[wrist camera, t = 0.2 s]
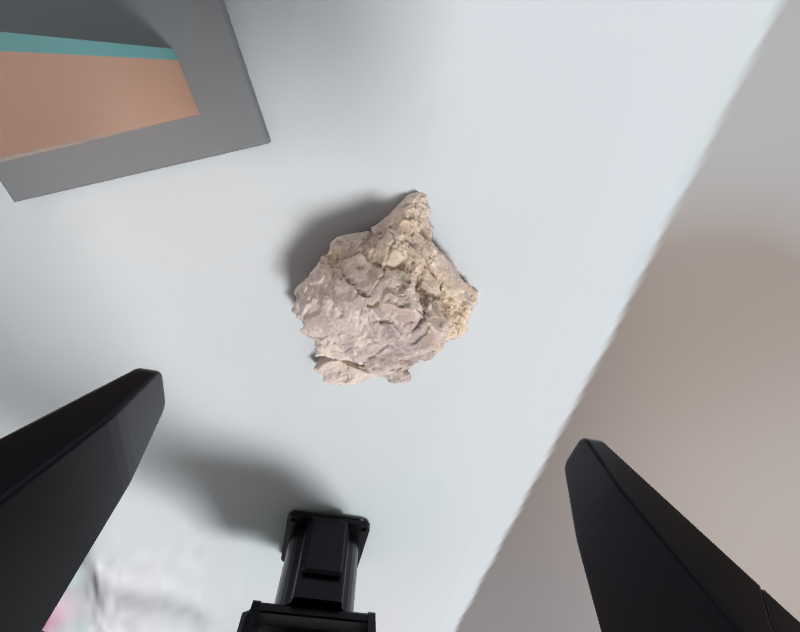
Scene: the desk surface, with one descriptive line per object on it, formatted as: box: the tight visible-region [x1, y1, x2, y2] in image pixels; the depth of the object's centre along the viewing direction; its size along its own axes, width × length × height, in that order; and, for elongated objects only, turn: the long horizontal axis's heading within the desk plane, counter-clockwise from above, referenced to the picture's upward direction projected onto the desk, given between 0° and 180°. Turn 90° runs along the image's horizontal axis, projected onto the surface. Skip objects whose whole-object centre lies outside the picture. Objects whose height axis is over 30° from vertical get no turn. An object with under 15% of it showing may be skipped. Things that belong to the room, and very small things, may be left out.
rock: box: [292, 192, 478, 385], centre depth 22 cm, size 11×8×6 cm
